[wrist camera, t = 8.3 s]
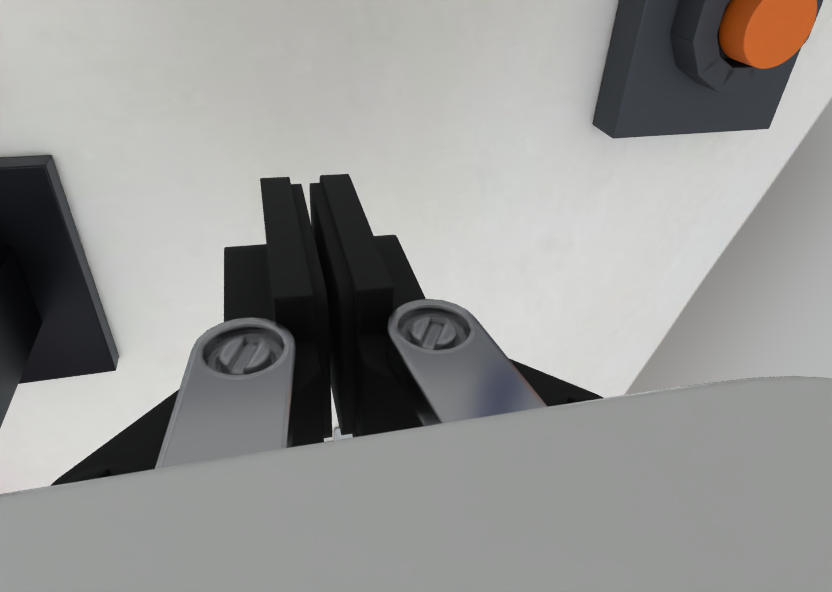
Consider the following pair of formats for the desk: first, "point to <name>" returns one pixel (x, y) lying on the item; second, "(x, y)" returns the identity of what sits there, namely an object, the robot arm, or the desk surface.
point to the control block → (681, 74)
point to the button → (765, 30)
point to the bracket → (44, 284)
